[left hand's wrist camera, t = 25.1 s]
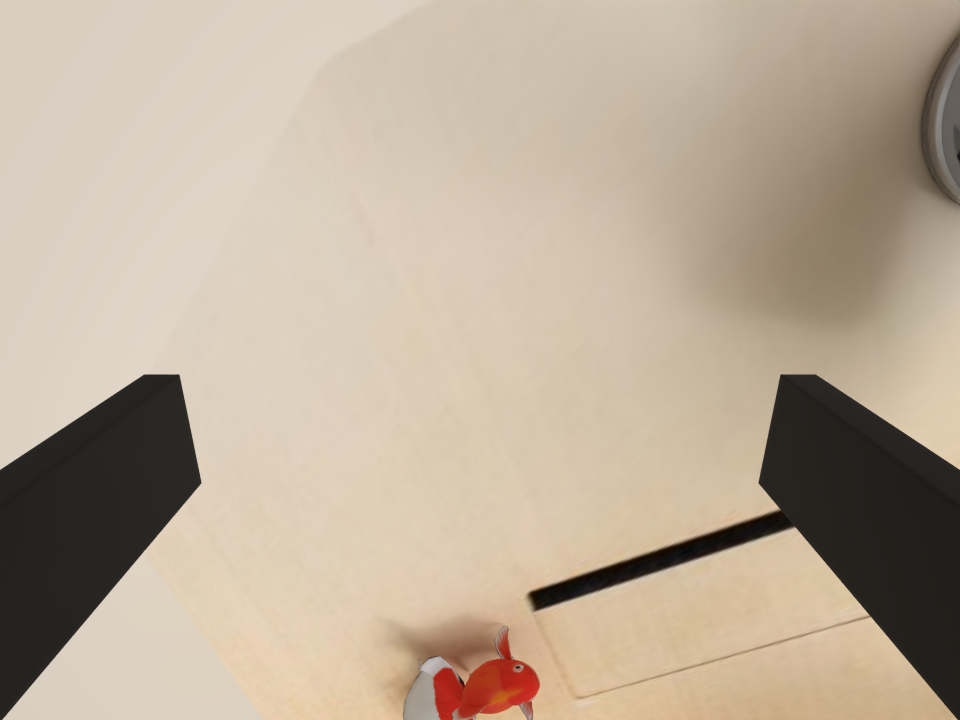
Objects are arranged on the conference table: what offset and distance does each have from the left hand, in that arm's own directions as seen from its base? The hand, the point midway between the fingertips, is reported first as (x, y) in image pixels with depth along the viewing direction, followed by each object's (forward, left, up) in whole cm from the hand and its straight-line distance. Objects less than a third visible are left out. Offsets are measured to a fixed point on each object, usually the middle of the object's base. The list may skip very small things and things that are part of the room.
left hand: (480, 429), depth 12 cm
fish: (+42, +9, -31) cm, 53 cm away
